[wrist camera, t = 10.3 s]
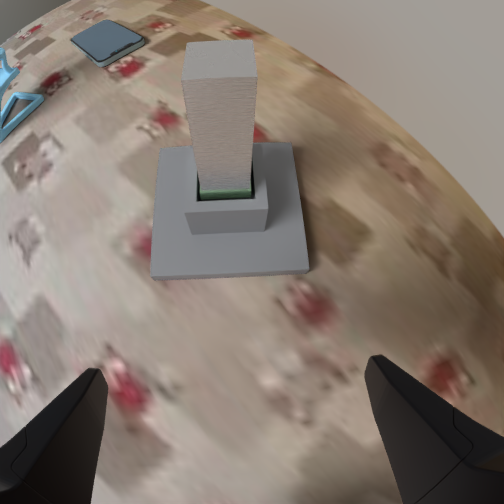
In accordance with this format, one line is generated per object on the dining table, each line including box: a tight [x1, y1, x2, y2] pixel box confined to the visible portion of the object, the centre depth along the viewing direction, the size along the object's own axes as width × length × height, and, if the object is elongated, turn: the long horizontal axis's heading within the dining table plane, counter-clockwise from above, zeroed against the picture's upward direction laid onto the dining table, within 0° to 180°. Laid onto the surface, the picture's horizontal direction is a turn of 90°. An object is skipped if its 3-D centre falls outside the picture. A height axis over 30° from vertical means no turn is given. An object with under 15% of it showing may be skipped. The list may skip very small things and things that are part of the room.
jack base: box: [150, 143, 309, 280], centre depth 24 cm, size 12×12×6 cm
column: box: [181, 40, 257, 200], centre depth 17 cm, size 4×3×10 cm
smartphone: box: [71, 20, 145, 67], centre depth 35 cm, size 8×2×15 cm
